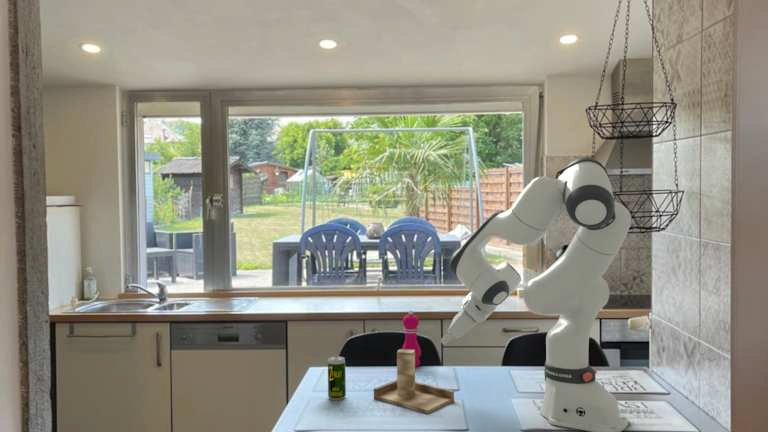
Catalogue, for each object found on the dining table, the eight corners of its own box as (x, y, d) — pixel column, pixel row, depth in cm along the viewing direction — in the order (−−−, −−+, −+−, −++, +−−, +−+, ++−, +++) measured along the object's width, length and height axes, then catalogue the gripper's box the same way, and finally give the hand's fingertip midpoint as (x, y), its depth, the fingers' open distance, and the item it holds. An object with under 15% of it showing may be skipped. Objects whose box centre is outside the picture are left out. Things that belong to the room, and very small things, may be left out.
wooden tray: (454, 401, 167) (453, 391, 167) (427, 413, 157) (427, 403, 157) (401, 387, 180) (401, 378, 180) (373, 398, 170) (373, 388, 170)
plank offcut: (415, 391, 172) (414, 349, 172) (413, 395, 169) (413, 352, 169) (399, 390, 173) (398, 349, 173) (397, 394, 170) (396, 352, 170)
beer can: (329, 394, 174) (328, 356, 173) (346, 394, 174) (345, 356, 173) (327, 400, 168) (326, 361, 168) (345, 400, 168) (344, 360, 168)
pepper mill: (421, 362, 209) (420, 308, 208) (420, 367, 201) (420, 312, 201) (402, 361, 209) (401, 308, 209) (400, 367, 202) (400, 312, 202)
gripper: (470, 294, 178) (440, 324, 180) (466, 305, 158) (432, 338, 160) (484, 308, 177) (454, 338, 179) (482, 321, 157) (448, 354, 159)
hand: (443, 339), depth 169 cm, fingers open, 8 cm apart
